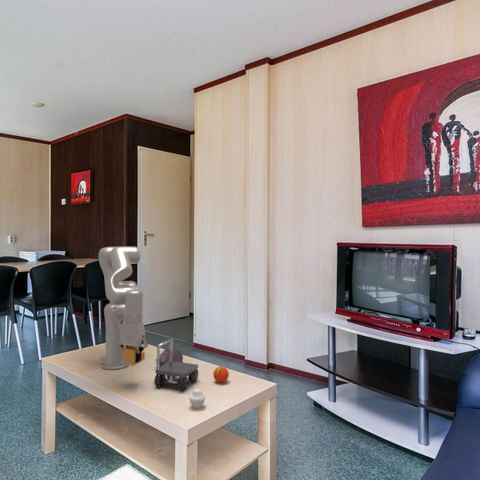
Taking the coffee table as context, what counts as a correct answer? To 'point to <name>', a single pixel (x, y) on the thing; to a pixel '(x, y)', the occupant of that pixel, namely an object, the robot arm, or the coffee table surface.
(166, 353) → the stone
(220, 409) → the coffee table surface
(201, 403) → the white lidded jar
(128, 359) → the block
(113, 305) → the robot arm
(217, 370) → the clementine
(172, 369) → the trolley
